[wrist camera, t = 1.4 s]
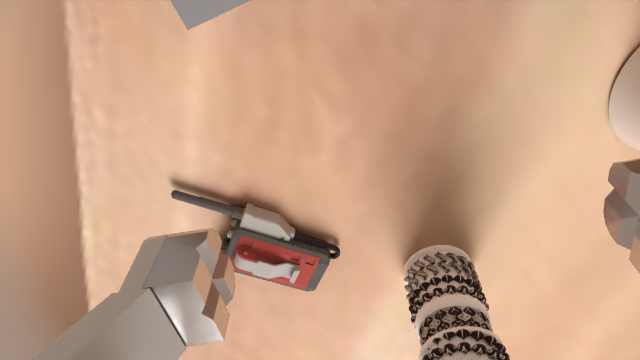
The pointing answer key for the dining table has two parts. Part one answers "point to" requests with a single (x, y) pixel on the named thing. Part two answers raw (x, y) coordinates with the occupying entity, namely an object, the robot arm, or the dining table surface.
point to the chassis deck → (203, 10)
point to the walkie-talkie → (269, 245)
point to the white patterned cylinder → (449, 306)
